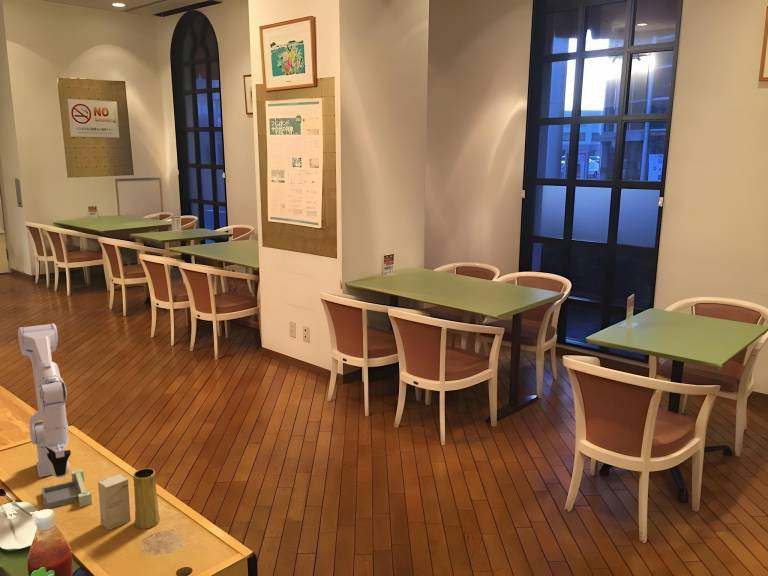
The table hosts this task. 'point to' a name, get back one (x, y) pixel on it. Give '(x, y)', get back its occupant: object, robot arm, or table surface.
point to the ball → (54, 470)
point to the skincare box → (114, 501)
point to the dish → (61, 494)
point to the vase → (145, 499)
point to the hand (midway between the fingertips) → (59, 470)
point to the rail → (81, 488)
